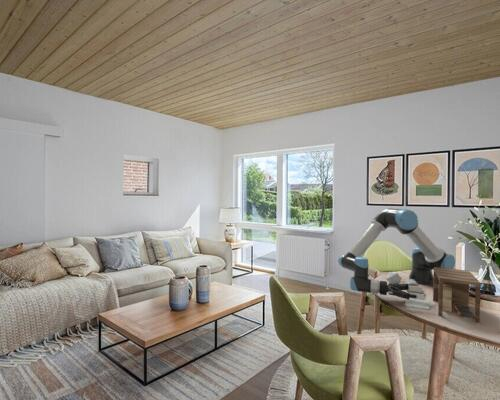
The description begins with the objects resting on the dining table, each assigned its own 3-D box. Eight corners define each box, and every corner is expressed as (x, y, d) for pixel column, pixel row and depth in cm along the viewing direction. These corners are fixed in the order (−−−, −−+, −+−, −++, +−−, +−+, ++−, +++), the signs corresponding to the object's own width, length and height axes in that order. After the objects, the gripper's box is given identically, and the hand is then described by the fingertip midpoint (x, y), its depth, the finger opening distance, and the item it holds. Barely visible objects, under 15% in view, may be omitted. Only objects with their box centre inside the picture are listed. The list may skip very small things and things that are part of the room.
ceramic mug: (405, 294, 176) (405, 281, 176) (404, 290, 183) (404, 278, 183) (425, 296, 172) (425, 284, 172) (423, 292, 179) (423, 280, 179)
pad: (405, 299, 167) (405, 298, 167) (427, 302, 162) (427, 301, 162) (405, 305, 157) (405, 305, 157) (429, 309, 152) (429, 309, 152)
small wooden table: (432, 299, 166) (433, 267, 166) (467, 304, 159) (468, 270, 159) (438, 316, 144) (439, 278, 144) (479, 322, 137) (480, 282, 136)
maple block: (438, 306, 157) (438, 283, 156) (449, 308, 154) (450, 285, 154) (439, 309, 152) (440, 286, 152) (451, 311, 150) (451, 287, 150)
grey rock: (400, 288, 189) (405, 274, 192) (387, 280, 191) (393, 267, 194) (394, 288, 197) (399, 276, 200) (382, 281, 198) (387, 269, 201)
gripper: (380, 287, 178) (421, 293, 169) (377, 301, 156) (424, 308, 146) (380, 275, 178) (421, 280, 169) (378, 286, 156) (425, 293, 146)
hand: (422, 293), depth 157 cm, fingers open, 13 cm apart
